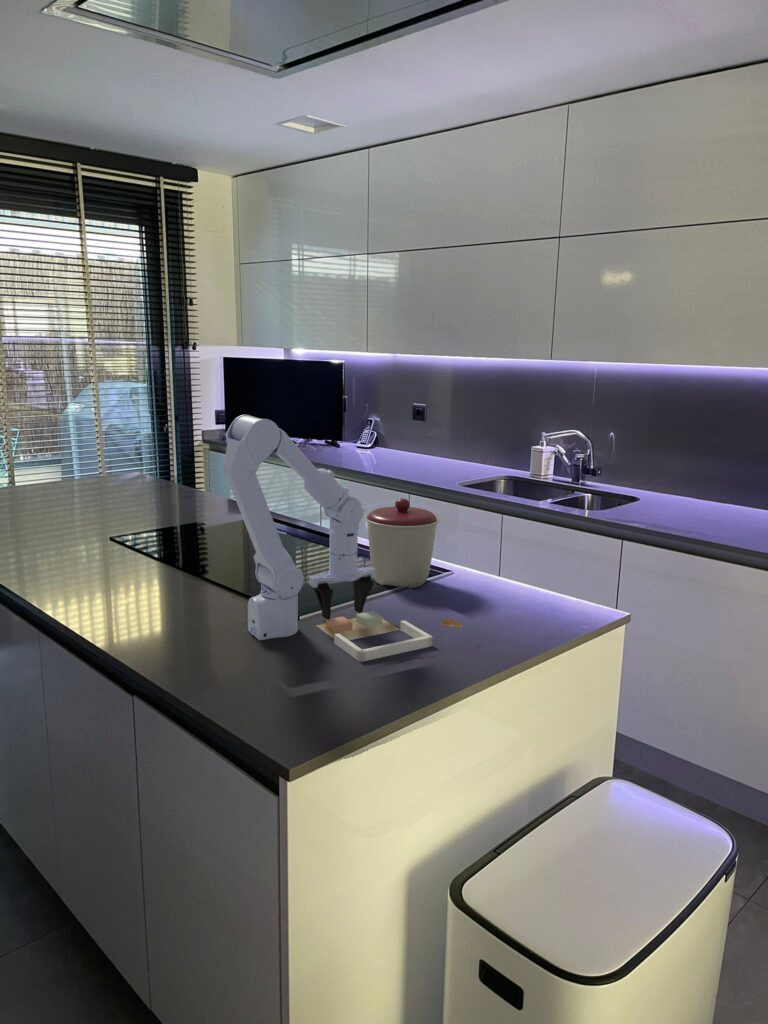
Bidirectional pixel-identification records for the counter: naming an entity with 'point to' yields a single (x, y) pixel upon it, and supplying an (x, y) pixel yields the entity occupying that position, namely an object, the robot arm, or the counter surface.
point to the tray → (361, 655)
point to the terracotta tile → (339, 624)
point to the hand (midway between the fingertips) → (342, 614)
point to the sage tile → (369, 618)
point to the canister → (401, 543)
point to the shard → (450, 623)
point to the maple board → (361, 630)
